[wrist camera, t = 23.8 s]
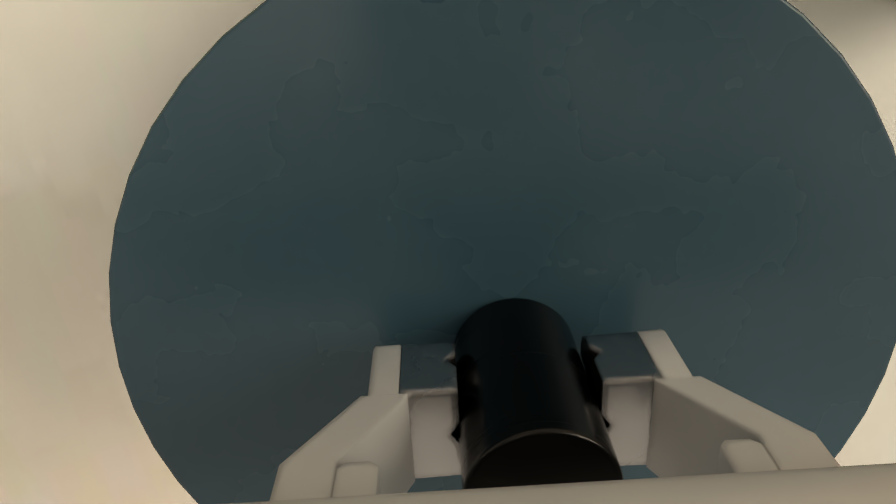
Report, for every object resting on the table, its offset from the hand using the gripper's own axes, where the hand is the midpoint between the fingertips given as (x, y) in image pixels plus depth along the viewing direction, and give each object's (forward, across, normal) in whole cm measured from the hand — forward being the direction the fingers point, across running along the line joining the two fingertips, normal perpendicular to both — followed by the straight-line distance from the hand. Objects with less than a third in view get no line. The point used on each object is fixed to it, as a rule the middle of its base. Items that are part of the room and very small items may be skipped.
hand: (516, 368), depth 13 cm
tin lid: (+1, 0, 0) cm, 1 cm away
